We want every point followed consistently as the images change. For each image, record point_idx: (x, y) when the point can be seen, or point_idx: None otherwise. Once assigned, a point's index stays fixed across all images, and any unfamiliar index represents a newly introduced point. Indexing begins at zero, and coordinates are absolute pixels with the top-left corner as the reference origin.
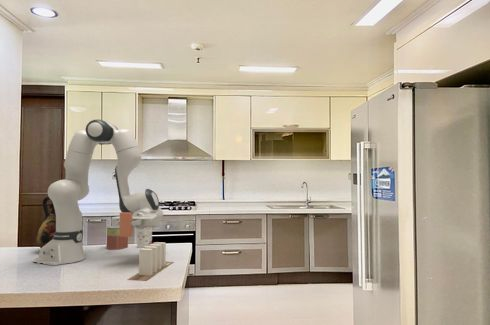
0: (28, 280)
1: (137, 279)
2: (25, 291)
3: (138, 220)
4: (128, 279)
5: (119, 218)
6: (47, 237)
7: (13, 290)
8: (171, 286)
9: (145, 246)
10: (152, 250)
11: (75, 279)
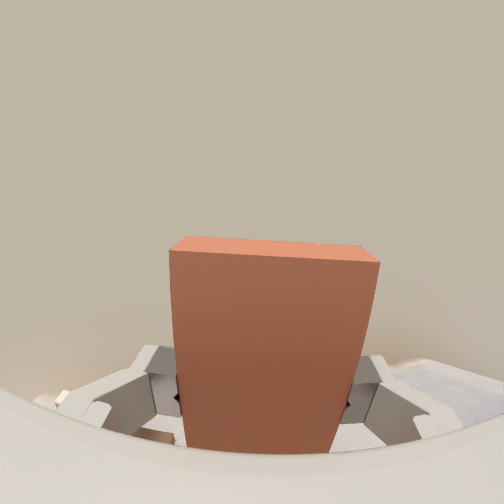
0: (473, 399)
1: (137, 432)
2: (400, 369)
3: (93, 383)
4: (168, 435)
5: (492, 419)
6: None
7: (426, 366)
8: (46, 401)
9: None
10: (58, 405)
11: (378, 444)
